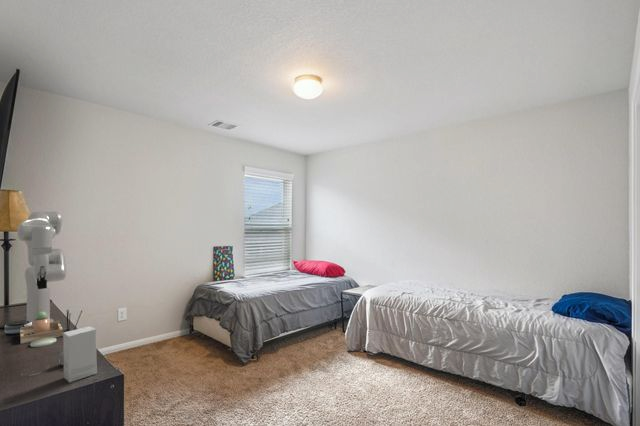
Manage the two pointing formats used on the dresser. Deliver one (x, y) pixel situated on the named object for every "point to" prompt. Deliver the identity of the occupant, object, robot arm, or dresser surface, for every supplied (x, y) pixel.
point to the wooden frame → (51, 334)
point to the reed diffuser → (61, 358)
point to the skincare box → (79, 353)
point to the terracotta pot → (41, 323)
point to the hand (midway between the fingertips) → (41, 287)
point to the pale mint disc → (43, 342)
